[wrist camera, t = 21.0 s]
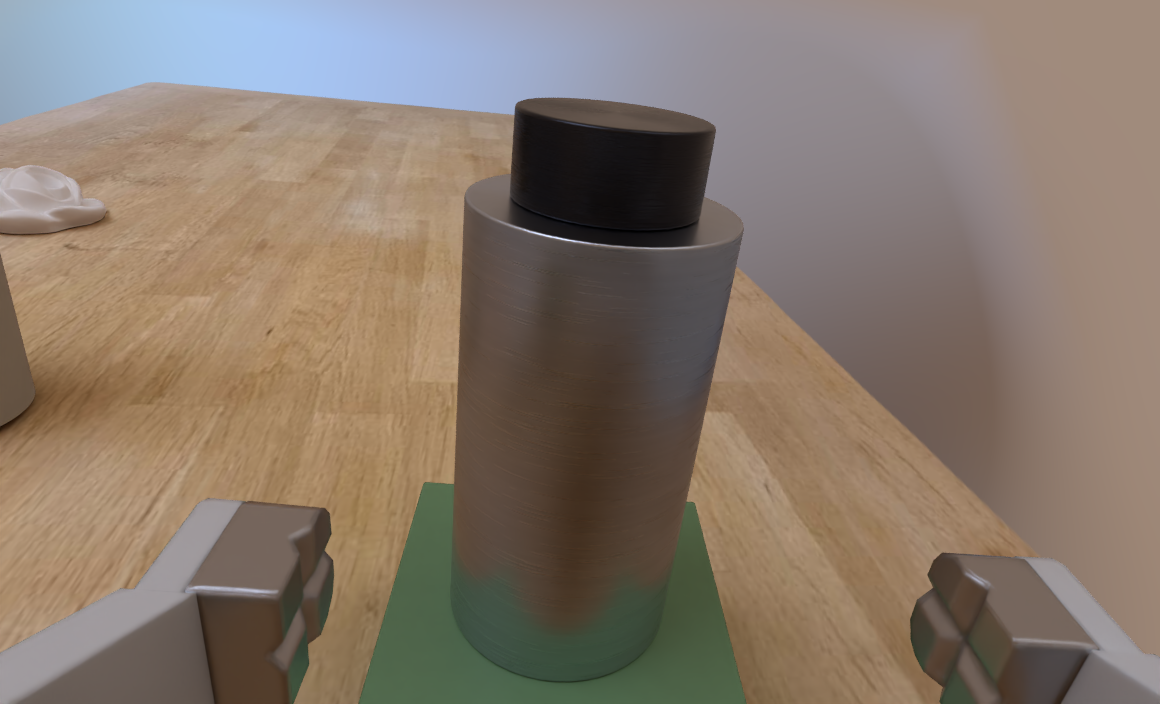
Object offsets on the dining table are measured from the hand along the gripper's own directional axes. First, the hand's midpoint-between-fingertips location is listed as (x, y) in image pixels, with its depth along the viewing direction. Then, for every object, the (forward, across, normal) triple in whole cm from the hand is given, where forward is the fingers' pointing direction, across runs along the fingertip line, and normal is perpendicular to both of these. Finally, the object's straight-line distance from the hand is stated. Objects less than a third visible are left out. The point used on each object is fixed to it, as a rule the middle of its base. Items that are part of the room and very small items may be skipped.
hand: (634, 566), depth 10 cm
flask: (+9, 0, +9) cm, 13 cm away
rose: (+53, +44, +14) cm, 71 cm away
